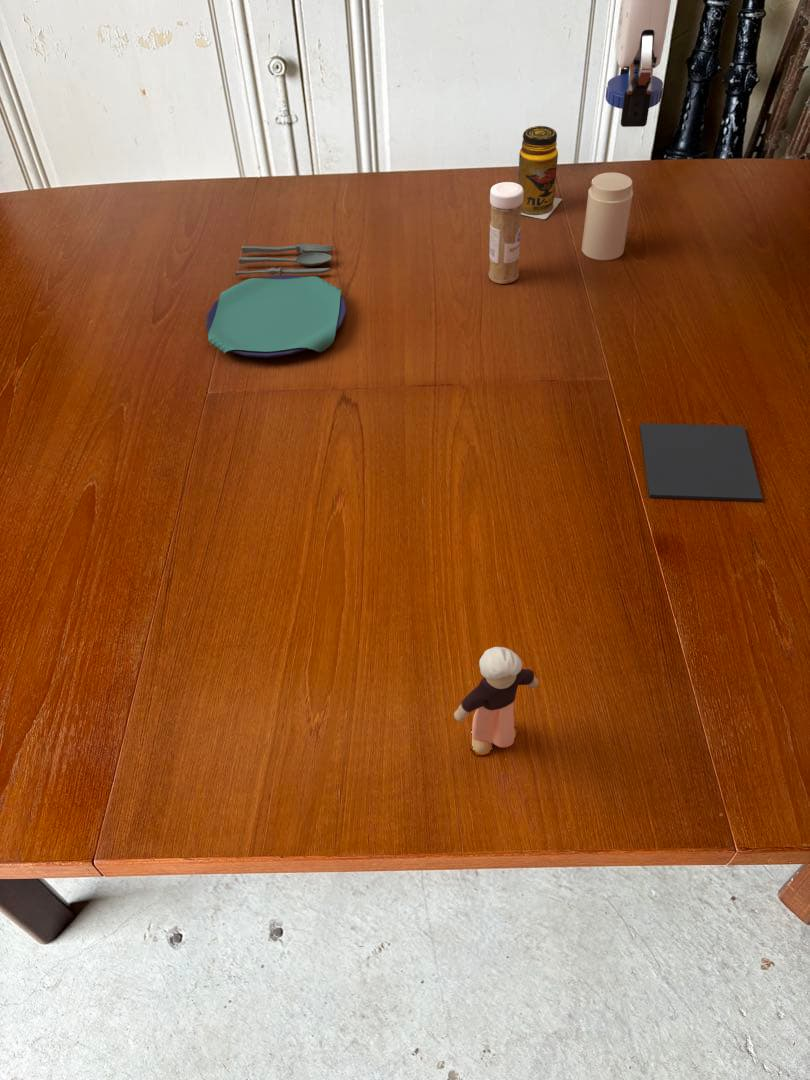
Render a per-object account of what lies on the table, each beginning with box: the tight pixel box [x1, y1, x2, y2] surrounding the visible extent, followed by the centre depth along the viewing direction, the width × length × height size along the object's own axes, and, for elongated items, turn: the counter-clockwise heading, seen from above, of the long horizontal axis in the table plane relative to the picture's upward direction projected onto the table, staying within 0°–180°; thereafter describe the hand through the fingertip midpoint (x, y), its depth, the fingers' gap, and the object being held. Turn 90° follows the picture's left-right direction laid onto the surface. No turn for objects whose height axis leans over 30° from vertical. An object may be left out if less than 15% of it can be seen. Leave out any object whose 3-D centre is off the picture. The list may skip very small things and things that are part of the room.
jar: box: [581, 172, 634, 261], centre depth 121 cm, size 6×6×11 cm
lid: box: [604, 73, 664, 110], centre depth 104 cm, size 7×7×2 cm
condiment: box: [517, 125, 563, 220], centre depth 131 cm, size 7×8×12 cm
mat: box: [639, 422, 764, 502], centre depth 93 cm, size 12×12×1 cm
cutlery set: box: [205, 242, 347, 359], centre depth 118 cm, size 20×30×2 cm, turn 179°
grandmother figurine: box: [453, 646, 539, 753], centre depth 67 cm, size 8×4×13 cm, turn 126°
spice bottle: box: [488, 181, 524, 285], centre depth 116 cm, size 5×5×13 cm
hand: (631, 112), depth 106 cm, fingers closed on lid, 6 cm apart
